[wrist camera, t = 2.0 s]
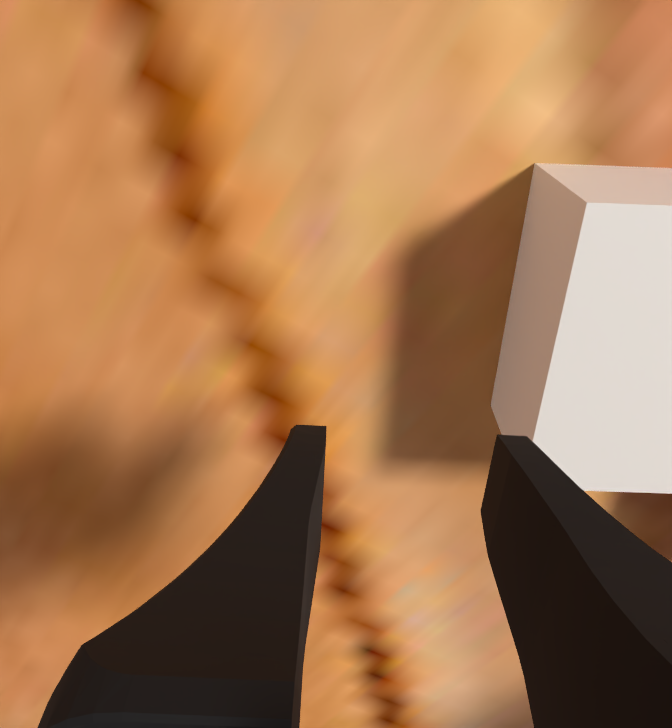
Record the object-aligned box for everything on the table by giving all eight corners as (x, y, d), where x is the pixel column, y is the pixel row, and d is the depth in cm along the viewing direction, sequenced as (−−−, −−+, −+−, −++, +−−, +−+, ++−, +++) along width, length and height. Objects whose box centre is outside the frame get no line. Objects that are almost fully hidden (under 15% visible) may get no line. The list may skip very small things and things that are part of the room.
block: (619, 407, 24) (680, 494, 20) (489, 403, 24) (521, 488, 20) (690, 167, 20) (789, 209, 15) (533, 161, 20) (587, 202, 15)
